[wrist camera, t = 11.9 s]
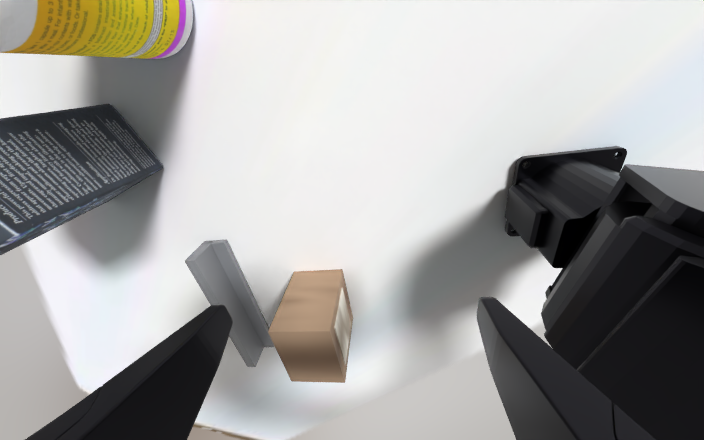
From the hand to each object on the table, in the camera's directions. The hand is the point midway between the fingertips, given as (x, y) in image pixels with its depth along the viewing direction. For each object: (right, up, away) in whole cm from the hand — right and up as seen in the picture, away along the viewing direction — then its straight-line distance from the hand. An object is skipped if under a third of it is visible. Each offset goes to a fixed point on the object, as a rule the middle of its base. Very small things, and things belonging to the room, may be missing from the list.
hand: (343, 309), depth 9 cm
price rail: (-12, -6, +20) cm, 24 cm away
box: (-20, +9, +13) cm, 25 cm away
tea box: (-3, -5, +18) cm, 19 cm away
